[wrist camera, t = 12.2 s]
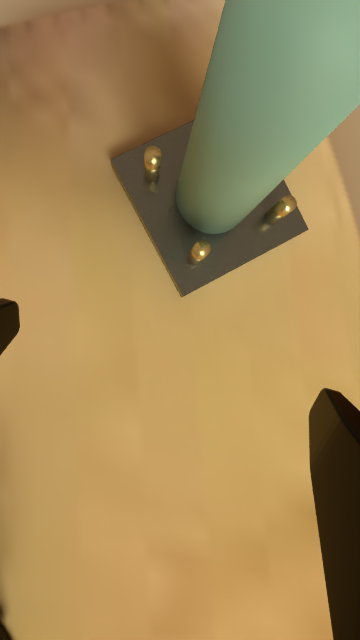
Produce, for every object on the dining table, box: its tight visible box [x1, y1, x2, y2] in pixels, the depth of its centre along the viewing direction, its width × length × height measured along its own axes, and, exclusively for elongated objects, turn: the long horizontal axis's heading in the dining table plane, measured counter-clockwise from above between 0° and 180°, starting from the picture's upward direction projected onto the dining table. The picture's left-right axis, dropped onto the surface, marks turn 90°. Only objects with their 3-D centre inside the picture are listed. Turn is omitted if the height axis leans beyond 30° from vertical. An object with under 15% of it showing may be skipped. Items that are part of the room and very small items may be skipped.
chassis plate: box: [111, 120, 308, 297], centre depth 21 cm, size 10×10×4 cm
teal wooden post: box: [176, 0, 360, 234], centre depth 14 cm, size 5×5×14 cm
